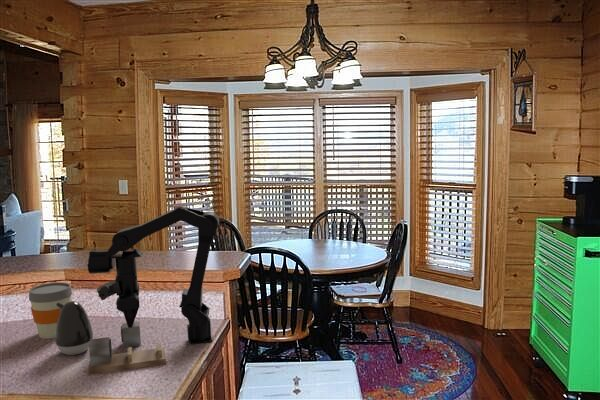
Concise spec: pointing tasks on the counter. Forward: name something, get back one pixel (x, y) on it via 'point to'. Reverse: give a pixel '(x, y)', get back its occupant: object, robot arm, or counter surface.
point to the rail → (121, 357)
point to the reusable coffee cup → (48, 306)
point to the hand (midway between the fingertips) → (130, 322)
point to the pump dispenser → (73, 329)
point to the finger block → (131, 335)
